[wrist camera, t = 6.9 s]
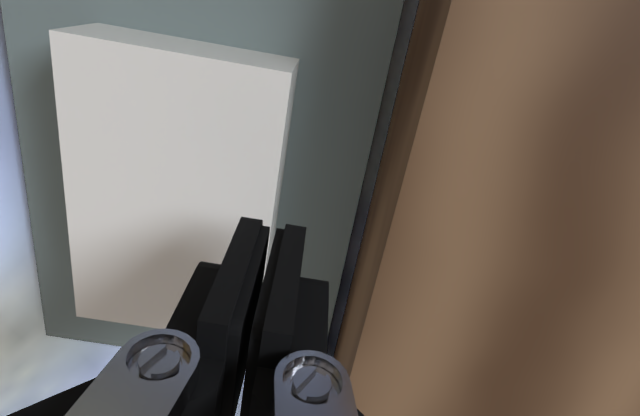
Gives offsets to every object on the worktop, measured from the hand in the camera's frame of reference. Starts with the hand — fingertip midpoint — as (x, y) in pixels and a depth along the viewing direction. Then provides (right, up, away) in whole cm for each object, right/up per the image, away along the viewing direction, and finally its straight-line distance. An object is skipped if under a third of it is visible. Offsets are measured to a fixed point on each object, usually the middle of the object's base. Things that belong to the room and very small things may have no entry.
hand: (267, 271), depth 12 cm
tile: (-3, +2, +1) cm, 4 cm away
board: (+8, +1, +5) cm, 9 cm away
